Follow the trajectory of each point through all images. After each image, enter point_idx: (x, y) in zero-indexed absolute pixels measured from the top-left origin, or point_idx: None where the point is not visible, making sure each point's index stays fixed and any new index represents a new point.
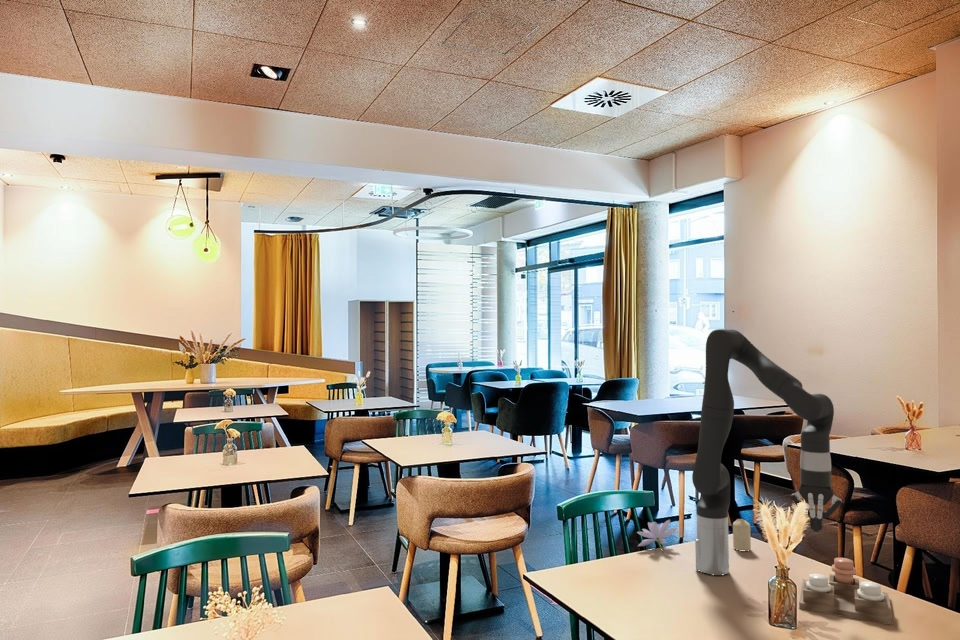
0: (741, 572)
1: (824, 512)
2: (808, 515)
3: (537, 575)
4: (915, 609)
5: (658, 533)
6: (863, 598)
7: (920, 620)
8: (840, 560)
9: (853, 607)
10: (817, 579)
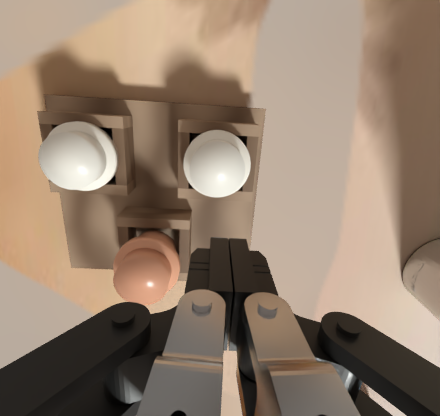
0: (372, 284)
1: (146, 364)
2: (301, 318)
3: None
4: (20, 221)
5: None
6: (100, 128)
7: (2, 157)
8: (149, 278)
9: (136, 136)
10: (220, 142)
